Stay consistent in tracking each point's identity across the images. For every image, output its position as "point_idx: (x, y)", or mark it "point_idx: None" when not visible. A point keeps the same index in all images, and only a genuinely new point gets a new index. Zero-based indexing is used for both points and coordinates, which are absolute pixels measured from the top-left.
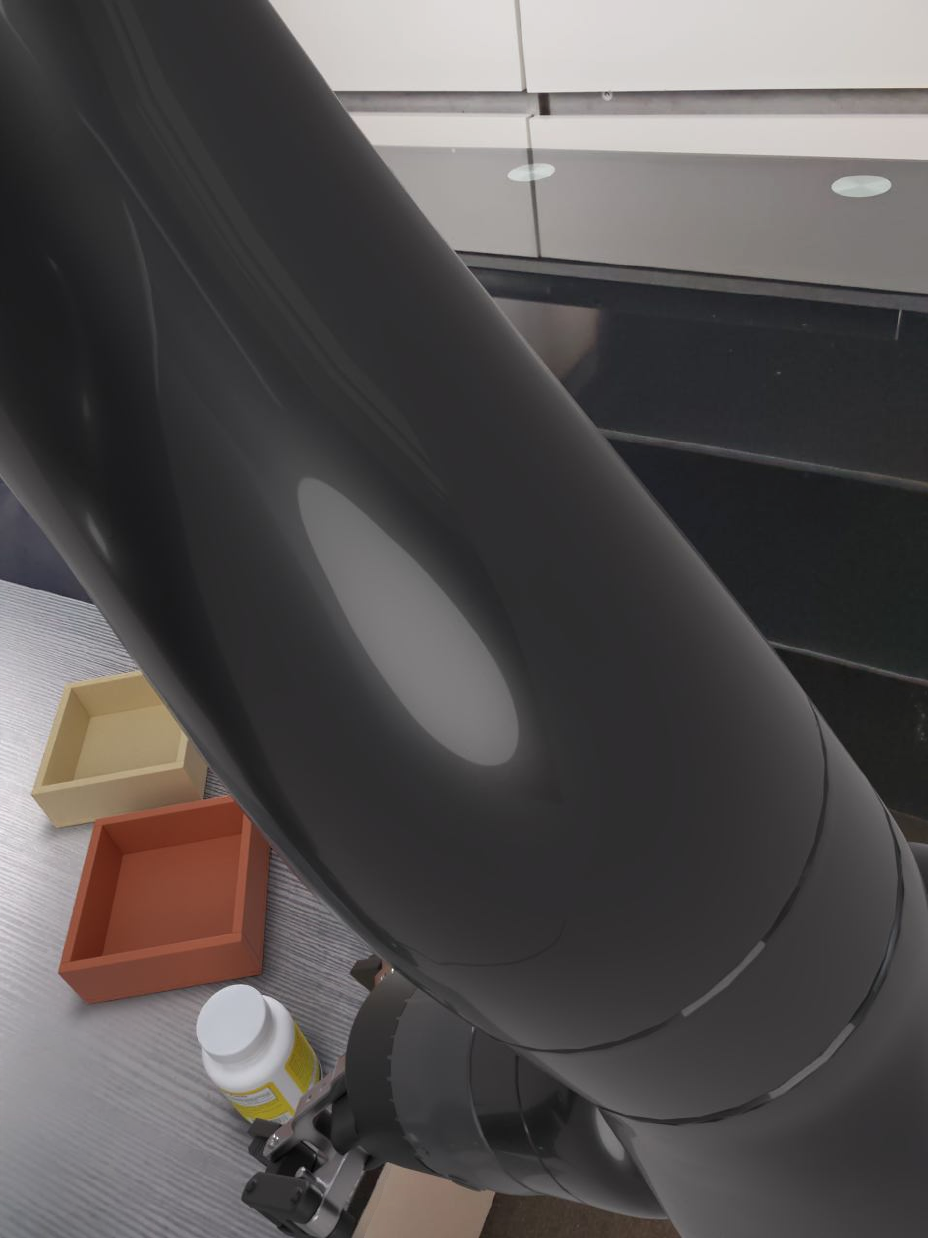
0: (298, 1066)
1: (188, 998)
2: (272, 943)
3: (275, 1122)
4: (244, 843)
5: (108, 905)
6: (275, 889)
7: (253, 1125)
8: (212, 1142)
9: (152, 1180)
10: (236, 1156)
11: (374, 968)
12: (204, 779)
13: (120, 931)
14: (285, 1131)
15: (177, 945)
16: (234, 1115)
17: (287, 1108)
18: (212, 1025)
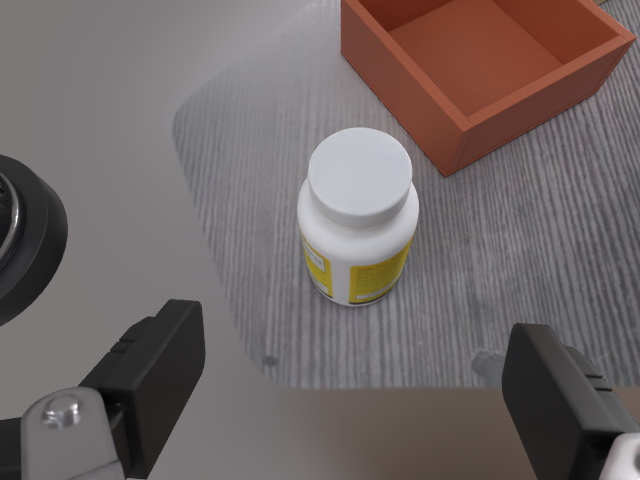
0: (365, 278)
1: (388, 127)
2: (480, 169)
3: (148, 368)
4: (570, 66)
5: (427, 6)
6: (534, 138)
7: (176, 306)
8: (281, 227)
9: (233, 196)
10: (279, 256)
11: (575, 415)
12: (598, 2)
13: (412, 33)
14: (69, 443)
15: (422, 75)
16: None
17: (328, 286)
18: (341, 152)
